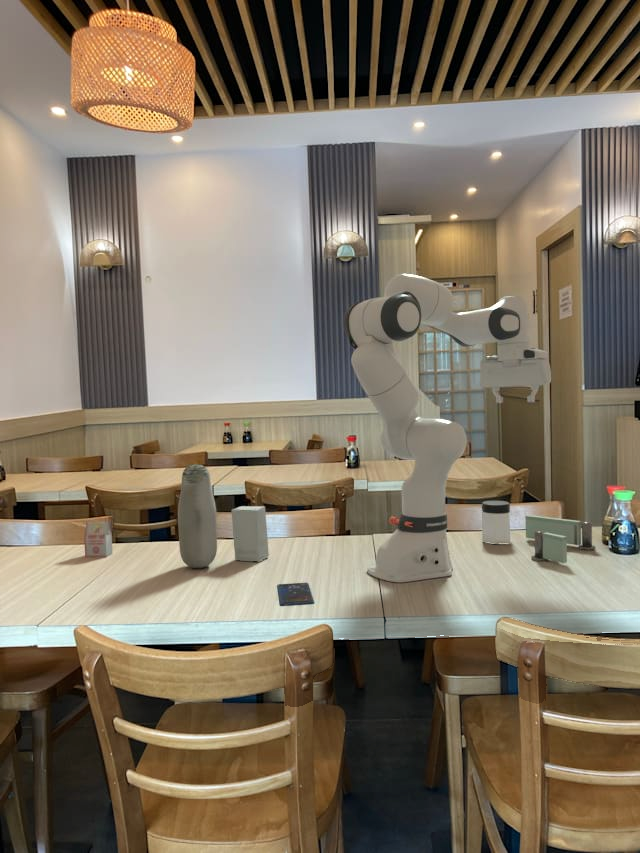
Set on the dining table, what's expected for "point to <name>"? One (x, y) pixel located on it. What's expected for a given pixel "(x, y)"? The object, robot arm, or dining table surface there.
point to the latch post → (538, 547)
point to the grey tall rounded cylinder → (197, 518)
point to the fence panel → (554, 547)
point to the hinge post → (587, 536)
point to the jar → (496, 522)
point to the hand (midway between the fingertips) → (515, 402)
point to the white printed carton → (98, 539)
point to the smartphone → (294, 594)
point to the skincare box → (250, 533)
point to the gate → (554, 527)
